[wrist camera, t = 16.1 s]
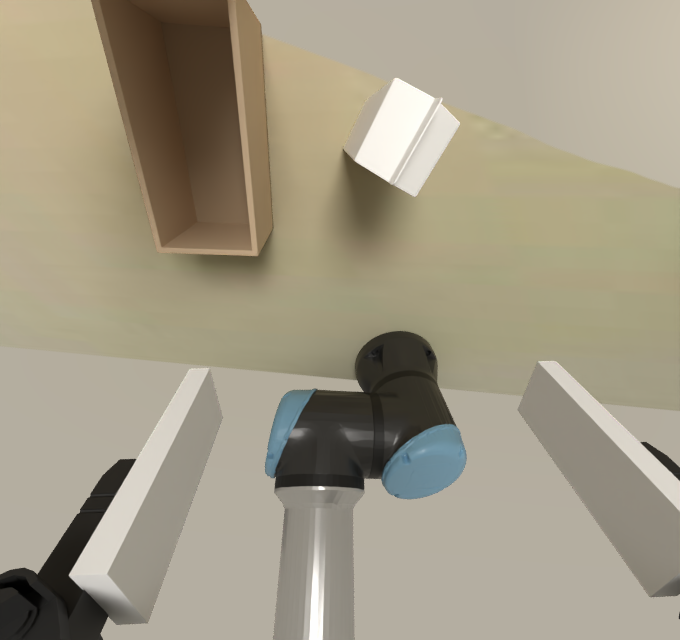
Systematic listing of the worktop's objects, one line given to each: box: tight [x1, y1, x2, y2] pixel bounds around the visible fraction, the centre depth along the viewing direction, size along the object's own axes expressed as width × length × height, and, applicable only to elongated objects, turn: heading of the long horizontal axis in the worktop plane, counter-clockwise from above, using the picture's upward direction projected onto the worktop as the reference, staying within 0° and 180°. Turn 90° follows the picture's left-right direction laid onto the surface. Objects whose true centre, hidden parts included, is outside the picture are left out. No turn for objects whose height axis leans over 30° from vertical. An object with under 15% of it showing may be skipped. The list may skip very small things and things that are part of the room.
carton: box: [91, 0, 273, 256], centre depth 34 cm, size 22×11×12 cm, turn 177°
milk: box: [343, 78, 460, 197], centre depth 31 cm, size 6×6×22 cm
